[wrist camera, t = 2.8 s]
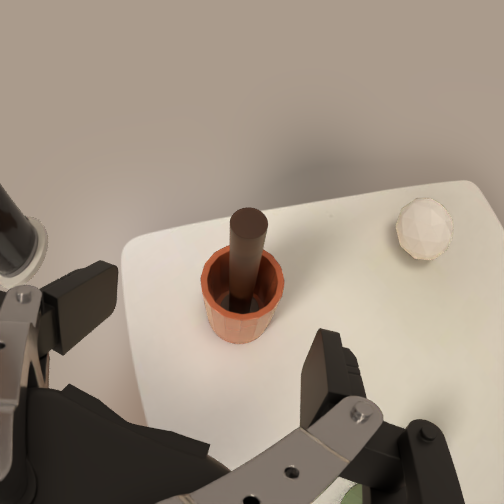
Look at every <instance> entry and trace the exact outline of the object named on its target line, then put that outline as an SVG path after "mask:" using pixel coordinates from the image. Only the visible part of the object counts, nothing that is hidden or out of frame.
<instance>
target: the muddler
mask: <svg viewBox="0 0 504 504" xmlns="http://www.w3.org/2000/svg"><path fill="white" fill-rule="evenodd" d="M267 228H268V221H267V218H266V216H265V215H264V214H263V213H262V212H261V211H259V210H257V209H255V208H242V209H239V210H237V211H236V212H235V213H234V214H233V215H232V217H231V219H230V252H229V294H228V295H227V296H225V297H224V299H223V300H222V302H221V305H220V306H221V307H223V308H224V309H226V310H227V311H230V312H234V313H239V314H247V313H253V312H257V311H259V305H258V303H257V301H256V299H255V298H254V297H253V294H254V289H255V284H256V280H257V275H258V270H259V266H260V261H261V256H262V252H263V247H264V242H265V237H266V233H267Z"/></svg>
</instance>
